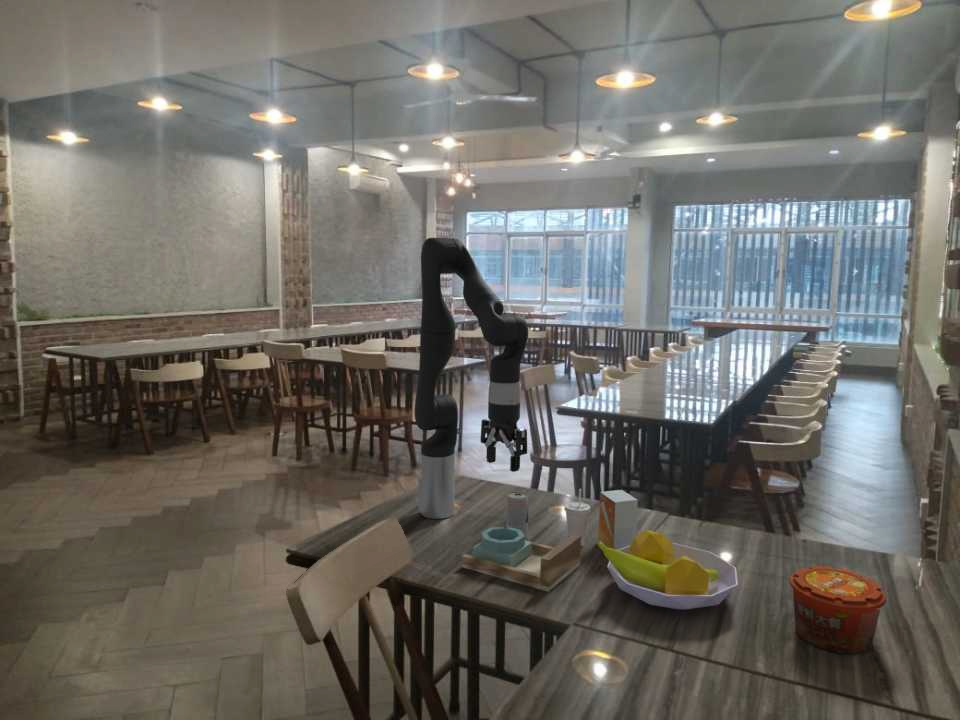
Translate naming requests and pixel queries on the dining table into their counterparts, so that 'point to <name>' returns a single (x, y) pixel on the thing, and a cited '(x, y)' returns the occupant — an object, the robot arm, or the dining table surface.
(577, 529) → the smoothie
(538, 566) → the wooden tray
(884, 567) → the dining table surface
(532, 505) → the dining table surface
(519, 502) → the energy drink
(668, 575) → the fruit bowl
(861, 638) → the food container
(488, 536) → the tray
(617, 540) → the small box
